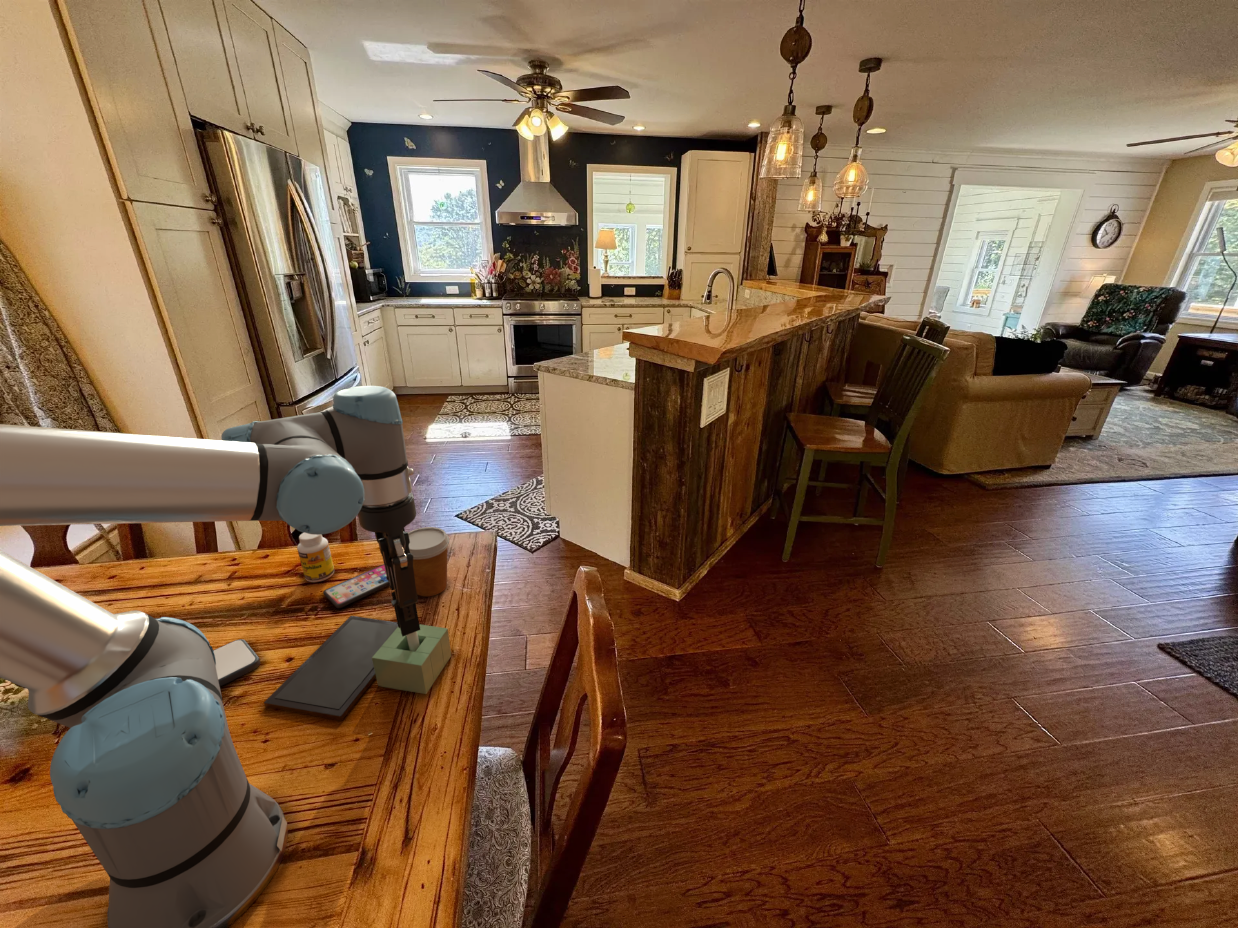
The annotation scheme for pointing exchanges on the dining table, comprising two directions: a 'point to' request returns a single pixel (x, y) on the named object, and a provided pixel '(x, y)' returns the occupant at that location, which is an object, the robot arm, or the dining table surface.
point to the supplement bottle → (315, 557)
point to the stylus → (413, 641)
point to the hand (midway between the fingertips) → (409, 627)
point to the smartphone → (357, 587)
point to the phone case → (234, 661)
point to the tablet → (335, 671)
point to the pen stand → (412, 660)
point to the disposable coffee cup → (429, 559)
